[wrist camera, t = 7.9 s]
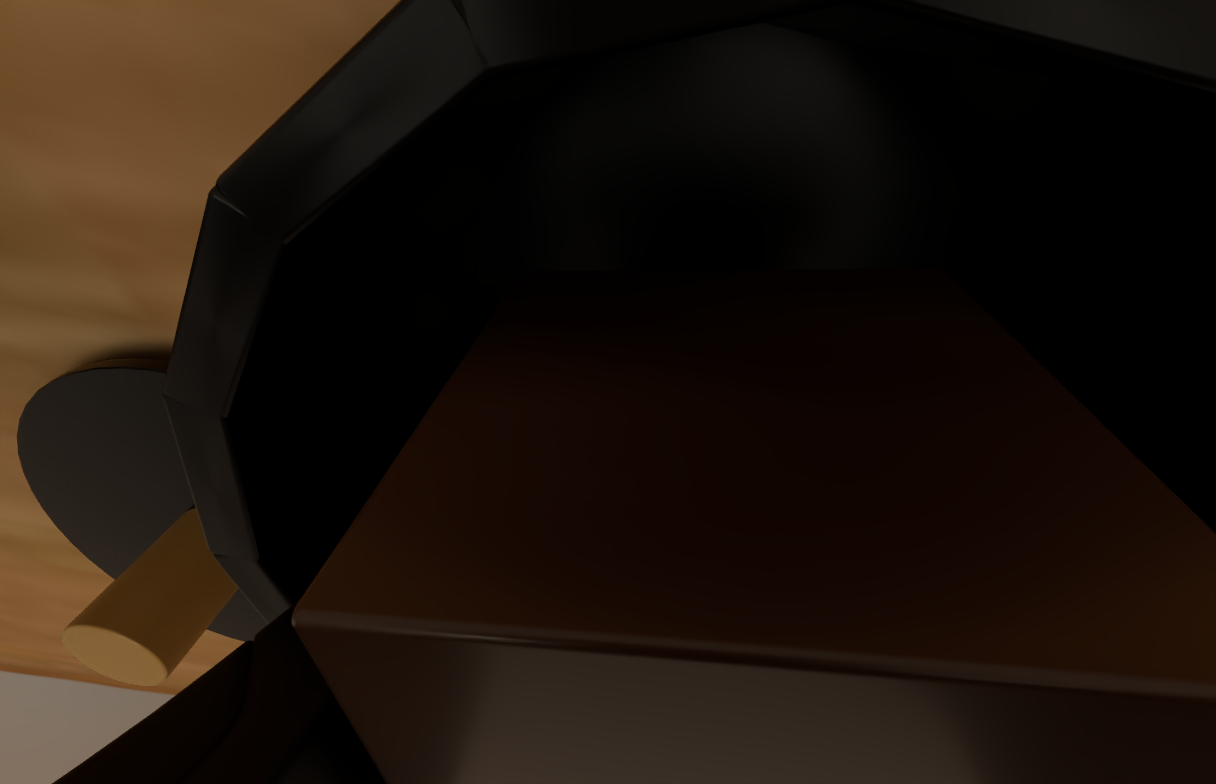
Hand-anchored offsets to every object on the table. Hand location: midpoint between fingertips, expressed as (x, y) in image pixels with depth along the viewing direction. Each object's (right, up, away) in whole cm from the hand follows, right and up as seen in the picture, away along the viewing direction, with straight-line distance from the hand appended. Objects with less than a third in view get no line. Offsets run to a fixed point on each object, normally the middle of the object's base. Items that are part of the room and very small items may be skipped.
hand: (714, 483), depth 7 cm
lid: (-13, -3, +10) cm, 17 cm away
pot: (+1, +3, +5) cm, 6 cm away
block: (0, +1, +1) cm, 1 cm away
